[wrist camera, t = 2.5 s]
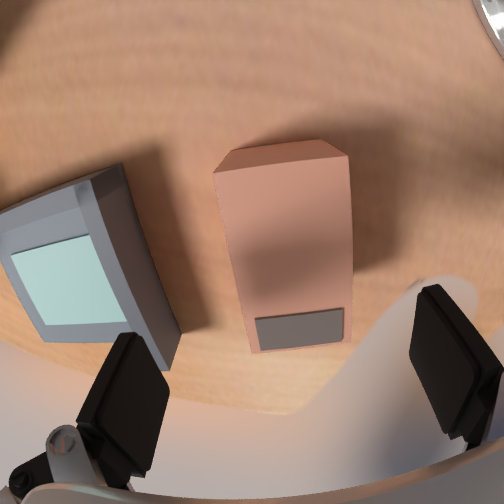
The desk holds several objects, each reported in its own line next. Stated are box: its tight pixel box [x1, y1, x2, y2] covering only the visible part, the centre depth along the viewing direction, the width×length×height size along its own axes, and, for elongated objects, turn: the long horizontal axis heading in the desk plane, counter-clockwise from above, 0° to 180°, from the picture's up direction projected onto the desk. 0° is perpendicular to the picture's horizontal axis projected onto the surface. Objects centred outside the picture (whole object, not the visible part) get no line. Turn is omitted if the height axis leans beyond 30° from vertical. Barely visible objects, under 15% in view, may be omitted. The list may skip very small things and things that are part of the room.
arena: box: [0, 164, 182, 371], centre depth 19 cm, size 15×13×4 cm
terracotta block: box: [212, 139, 353, 354], centre depth 15 cm, size 5×9×6 cm, turn 9°
